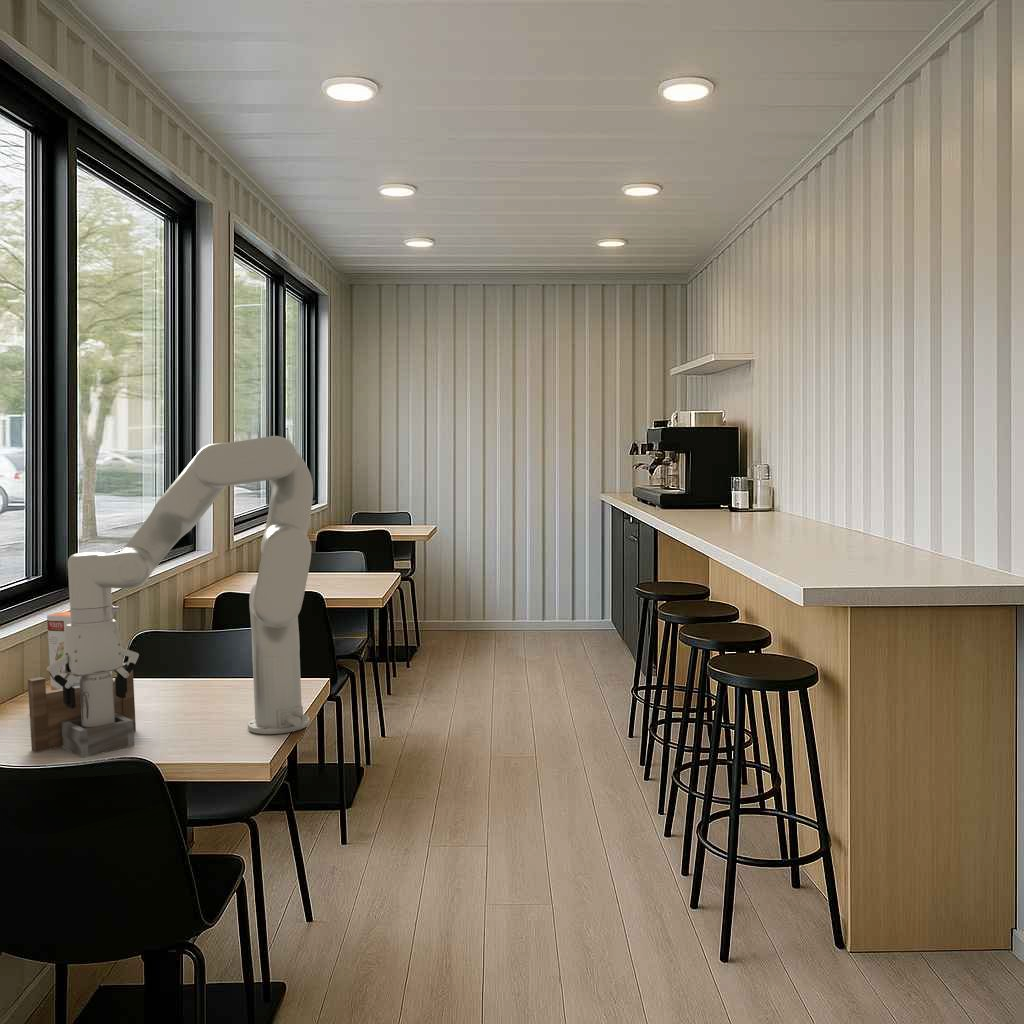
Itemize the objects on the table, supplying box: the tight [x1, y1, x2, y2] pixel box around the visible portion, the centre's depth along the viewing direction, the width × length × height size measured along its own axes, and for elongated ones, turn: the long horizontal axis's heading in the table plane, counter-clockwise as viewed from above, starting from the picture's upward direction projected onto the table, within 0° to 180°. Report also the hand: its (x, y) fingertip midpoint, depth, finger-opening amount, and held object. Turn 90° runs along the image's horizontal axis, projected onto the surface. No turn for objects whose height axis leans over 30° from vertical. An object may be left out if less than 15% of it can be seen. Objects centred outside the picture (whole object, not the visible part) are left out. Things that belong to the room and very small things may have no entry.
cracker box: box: [46, 610, 114, 691], centre depth 224 cm, size 14×6×21 cm, turn 68°
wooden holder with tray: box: [27, 662, 137, 758], centre depth 188 cm, size 13×20×14 cm, turn 135°
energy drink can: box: [80, 671, 115, 729], centre depth 187 cm, size 6×6×15 cm
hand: (96, 702), depth 187 cm, fingers open, 9 cm apart
